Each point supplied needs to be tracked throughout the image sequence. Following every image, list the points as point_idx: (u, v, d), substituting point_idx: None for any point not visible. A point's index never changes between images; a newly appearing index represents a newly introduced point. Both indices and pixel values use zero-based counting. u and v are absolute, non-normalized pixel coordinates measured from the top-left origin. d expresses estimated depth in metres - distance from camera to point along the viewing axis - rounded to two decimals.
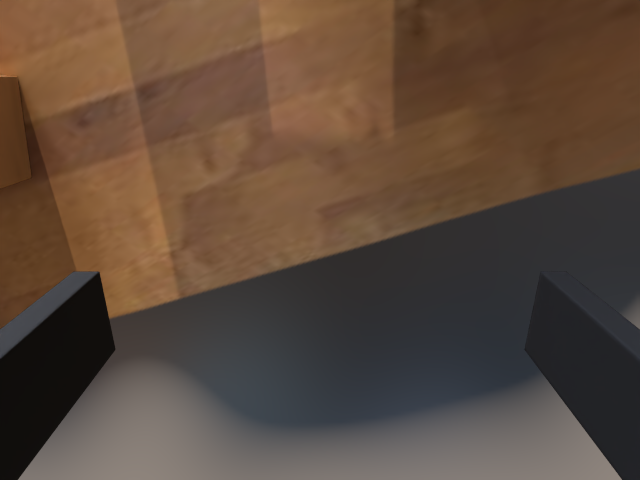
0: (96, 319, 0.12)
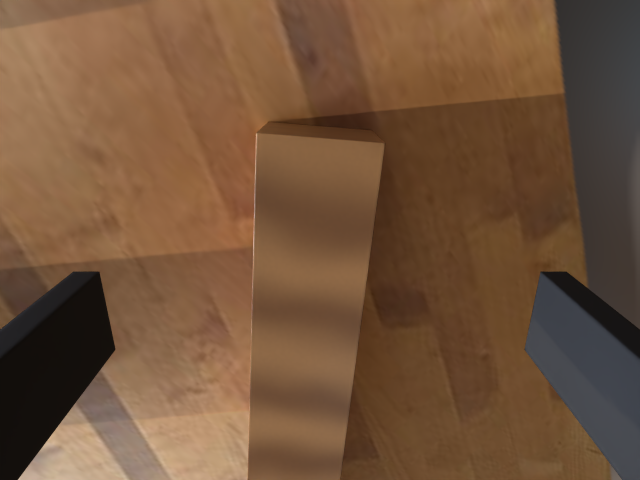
0: (96, 319, 0.12)
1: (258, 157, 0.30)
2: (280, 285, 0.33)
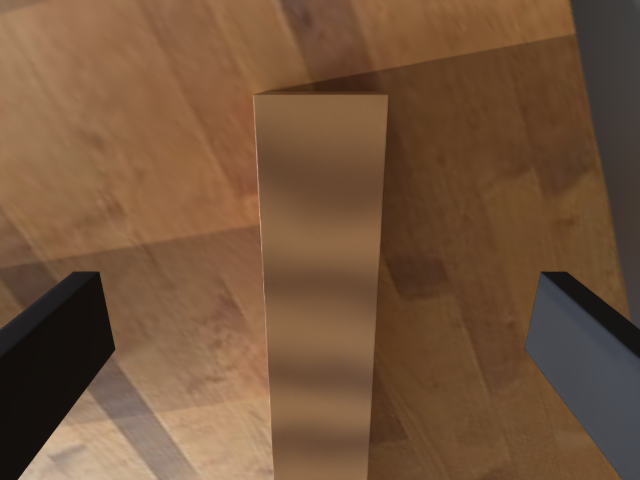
0: (96, 319, 0.12)
1: (257, 121, 0.28)
2: (290, 256, 0.32)
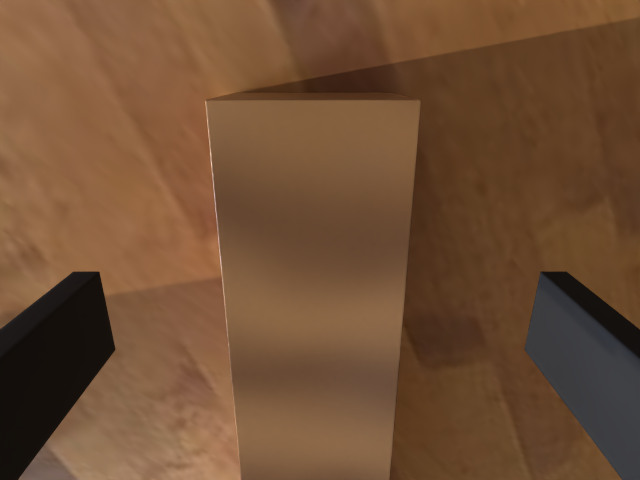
0: (96, 319, 0.12)
1: (213, 141, 0.18)
2: (269, 338, 0.22)
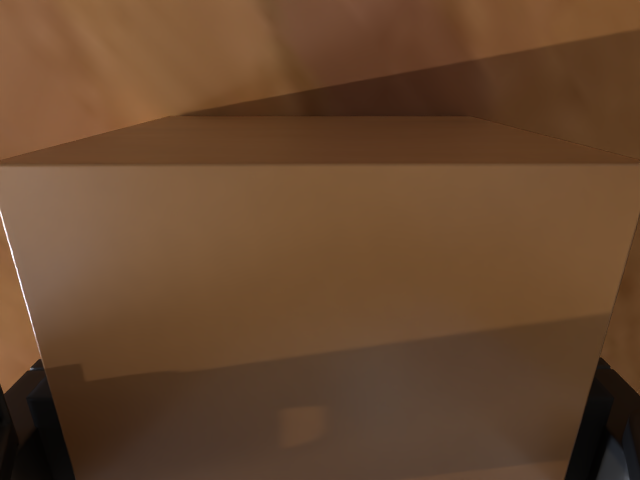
0: None
1: (29, 279, 0.06)
2: None
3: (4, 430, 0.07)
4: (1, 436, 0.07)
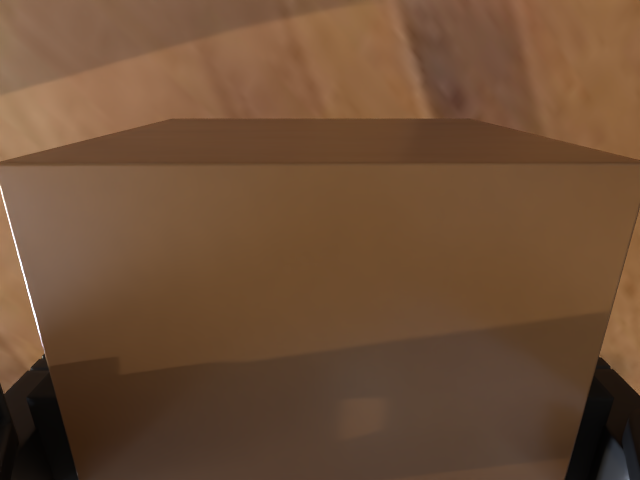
0: None
1: (35, 277, 0.06)
2: None
3: (4, 430, 0.07)
4: (1, 436, 0.07)
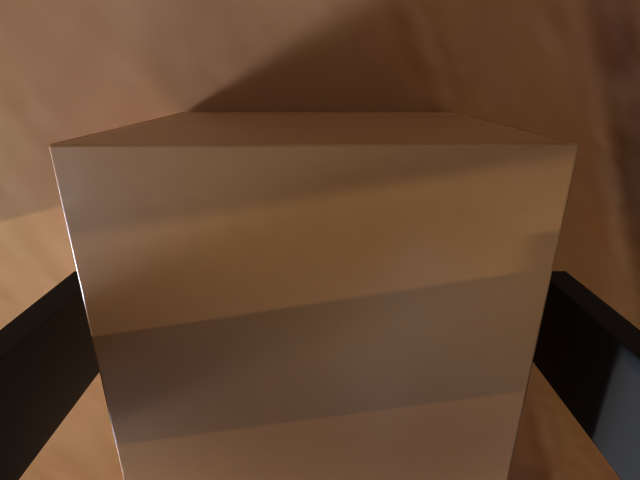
0: None
1: (78, 239, 0.08)
2: None
3: None
4: None
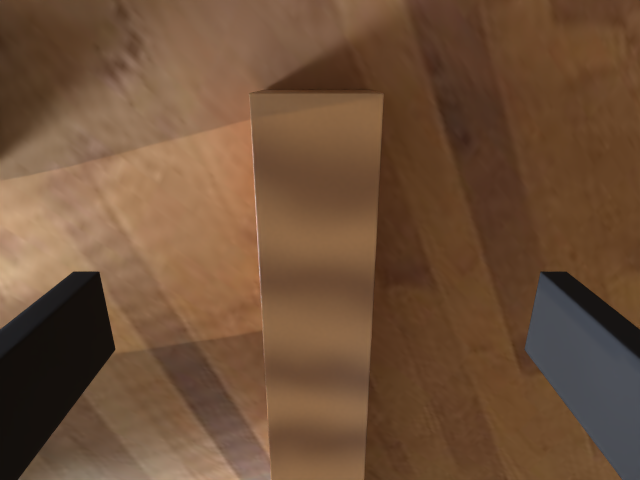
0: (96, 319, 0.12)
1: (253, 119, 0.29)
2: (286, 254, 0.32)
3: None
4: None
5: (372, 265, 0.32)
